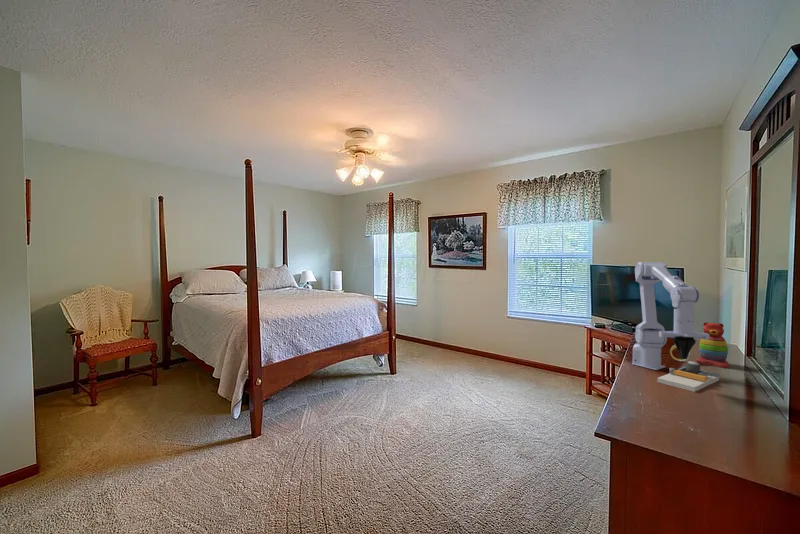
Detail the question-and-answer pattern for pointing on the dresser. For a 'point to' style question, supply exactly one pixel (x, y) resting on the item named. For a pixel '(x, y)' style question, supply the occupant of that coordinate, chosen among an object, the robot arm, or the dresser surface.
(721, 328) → the stacking bear
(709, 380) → the white tray
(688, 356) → the ring
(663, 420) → the dresser surface
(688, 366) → the plug
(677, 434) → the dresser surface
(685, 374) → the orange-brown long box
